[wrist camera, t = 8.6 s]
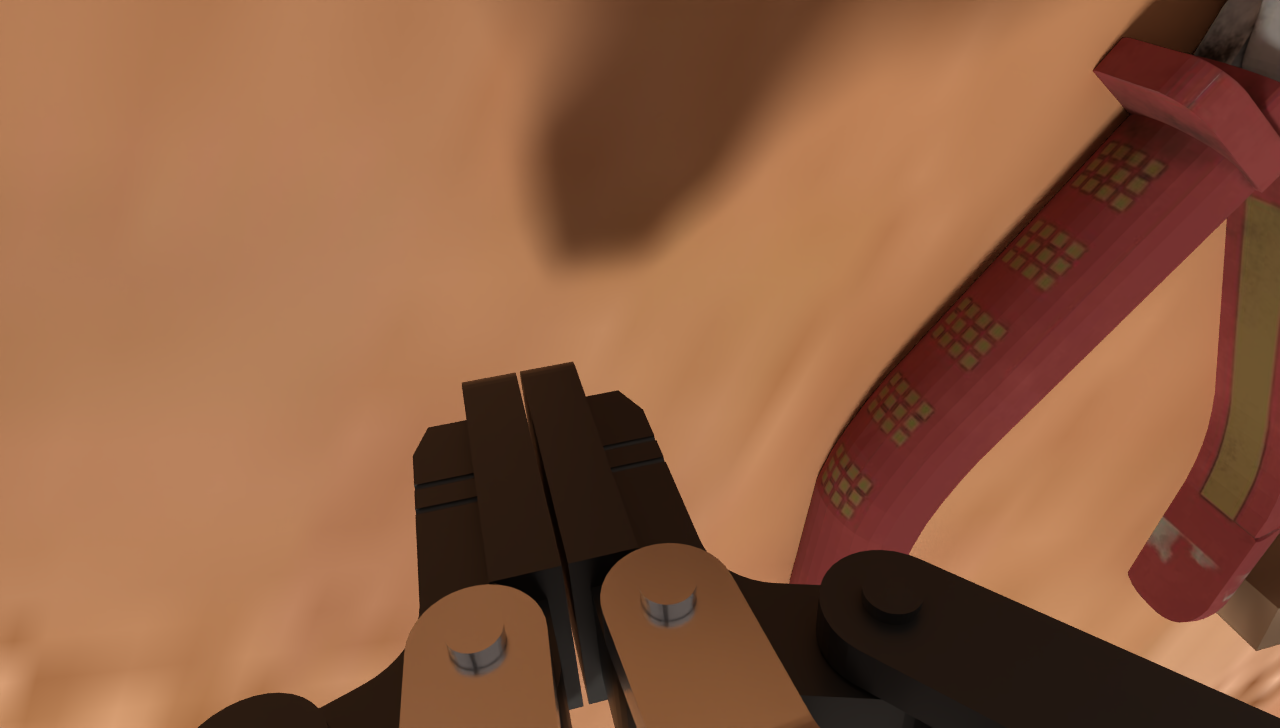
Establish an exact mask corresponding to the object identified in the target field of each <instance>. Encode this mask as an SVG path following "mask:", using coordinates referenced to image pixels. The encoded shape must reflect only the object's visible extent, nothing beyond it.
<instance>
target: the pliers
mask: <svg viewBox="0 0 1280 728" xmlns="http://www.w3.org/2000/svg"><path fill="white" fill-rule="evenodd" d="M1093 72H1094V73H1095V74H1096V75H1097V77H1098V78H1099V79H1100V80H1101V81H1102V82H1103V84H1104V85H1105V86H1106V87H1107V88H1108V90H1109V91H1110V92H1111V93H1112V94H1113V95H1114V97H1115V98H1116V99H1117V100H1118V101H1119V102H1120V104H1121V105H1122V106H1123V107H1124V108H1125V109H1126V111H1127V112H1128V113H1129V114H1130V115H1129V116H1128V117H1127V118H1126V120H1125V121H1124V122H1123V123H1122V124H1121V125H1120V126H1119V127H1118V128H1117V129H1116V130H1115V131H1114V132H1113V133H1112V135H1111V136H1110V137H1109V138H1108V139H1107V140H1106V141H1105V142H1104V143H1103V144H1102V145H1101V146H1100V147H1099V149H1098V150H1097V151H1096V152H1095V153H1094V154H1093V155H1092V156H1091V157H1090V158H1089V159H1088V160H1087V161H1086V163H1085V164H1084V165H1083V166H1082V167H1081V168H1080V169H1079V170H1078V171H1077V172H1076V173H1075V174H1074V175H1073V177H1072V178H1071V179H1070V180H1069V181H1068V182H1067V183H1066V184H1065V185H1064V186H1063V187H1062V188H1061V189H1060V191H1059V192H1058V193H1057V194H1056V195H1055V196H1054V197H1053V198H1052V199H1051V200H1050V201H1049V202H1048V203H1047V205H1046V206H1045V207H1044V208H1043V209H1042V210H1041V211H1040V212H1039V213H1038V214H1037V215H1036V216H1035V217H1034V219H1033V220H1032V221H1031V222H1030V223H1029V224H1028V225H1027V226H1026V227H1025V228H1024V229H1023V230H1022V231H1021V232H1020V234H1019V235H1018V236H1017V237H1016V238H1015V239H1014V240H1013V241H1012V242H1011V243H1010V244H1009V245H1008V246H1007V248H1006V249H1005V250H1004V251H1003V252H1002V253H1001V254H1000V255H999V256H998V257H997V258H996V259H995V260H994V262H993V263H992V264H991V265H990V266H989V267H988V268H987V269H986V270H985V271H984V272H983V273H982V274H981V276H980V277H979V278H978V279H977V280H976V281H975V282H974V283H973V284H972V285H971V286H970V287H969V288H968V290H967V291H966V292H965V293H964V294H963V295H962V296H961V297H960V298H959V299H958V300H957V301H956V302H955V304H954V305H953V306H952V307H951V308H950V309H949V310H948V311H947V312H946V313H945V314H944V315H943V316H942V318H941V319H940V320H939V321H938V322H937V323H936V324H935V325H934V326H933V327H932V328H931V329H930V330H929V331H928V333H927V334H926V335H925V336H924V337H923V338H922V339H921V340H920V341H919V342H918V343H917V344H916V345H915V347H914V348H913V349H912V350H911V351H910V352H909V353H908V354H907V355H906V356H905V357H904V358H903V359H902V361H901V362H900V363H899V364H898V365H897V366H896V367H895V368H894V369H893V370H892V371H891V372H890V373H889V375H888V376H887V377H886V378H885V379H884V380H883V382H882V383H881V384H880V385H879V387H878V388H877V389H876V390H875V391H874V393H873V394H872V395H871V396H870V397H869V399H868V400H867V401H866V402H865V404H864V405H863V406H862V408H861V409H860V410H859V412H858V413H857V414H856V416H855V417H854V418H853V420H852V421H851V422H850V424H849V425H848V427H847V428H846V430H845V431H844V433H843V434H842V435H841V437H840V438H839V440H838V441H837V443H836V444H835V446H834V447H833V449H832V450H831V452H830V454H829V456H828V458H827V460H826V462H825V464H824V466H823V468H822V470H821V472H820V474H819V476H818V477H817V481H816V484H815V488H814V492H813V496H812V499H811V503H810V507H809V511H808V514H807V518H806V522H805V526H804V529H803V533H802V537H801V541H800V544H799V548H798V552H797V556H796V559H795V563H794V567H793V571H792V574H791V578H790V583H789V584H809V585H821V582H822V579H823V577H824V576H825V574H826V572H827V571H828V570H829V569H830V568H831V566H832V565H833V564H835V563H836V562H838V561H839V560H840V559H842V558H844V557H846V556H848V555H851V554H854V553H857V552H861V551H868V550H888V551H896V552H900V553H904V554H908V555H909V553H910V551H911V549H912V547H913V545H914V544H915V542H916V540H917V539H918V537H919V535H920V534H921V532H922V530H923V529H924V527H925V526H926V524H927V523H928V521H929V520H930V519H931V517H932V516H933V515H934V513H935V512H936V510H937V509H938V508H939V506H940V505H941V504H942V503H943V501H944V500H945V499H946V498H947V497H948V495H949V494H950V493H951V492H952V491H953V489H954V488H955V487H956V486H957V485H958V483H959V482H960V481H961V480H962V479H963V478H964V477H965V476H966V475H967V474H968V472H969V471H970V470H971V469H972V468H973V467H974V466H975V465H976V464H977V463H978V462H979V460H980V459H981V458H982V457H983V456H985V455H986V454H987V453H988V452H989V451H990V450H991V449H992V448H993V447H994V446H995V445H996V444H997V443H998V442H999V441H1000V440H1001V439H1002V438H1003V437H1004V436H1005V435H1006V434H1007V433H1008V432H1009V431H1010V430H1011V429H1012V428H1013V427H1014V426H1015V425H1016V424H1017V423H1018V422H1019V421H1020V420H1021V419H1022V418H1023V417H1024V416H1025V415H1026V414H1027V413H1028V412H1029V411H1030V410H1031V409H1032V408H1033V407H1035V406H1036V405H1037V404H1038V403H1039V402H1040V401H1041V400H1042V399H1043V398H1044V397H1045V396H1046V395H1047V394H1048V393H1049V392H1050V391H1051V390H1052V389H1053V388H1054V387H1055V386H1056V385H1057V384H1058V383H1059V382H1060V381H1061V380H1062V379H1063V378H1064V377H1065V376H1066V375H1067V374H1068V373H1069V372H1070V371H1071V370H1072V369H1073V368H1074V367H1075V366H1076V365H1077V364H1078V363H1079V362H1080V361H1081V360H1082V359H1084V358H1085V357H1086V356H1087V355H1088V354H1089V353H1090V352H1091V351H1092V350H1093V349H1094V348H1095V347H1096V346H1097V345H1098V344H1099V343H1100V342H1101V341H1102V340H1103V339H1104V338H1105V337H1106V336H1107V335H1108V334H1109V333H1110V332H1111V331H1112V330H1113V329H1114V328H1115V327H1116V326H1117V325H1118V324H1119V323H1120V322H1121V321H1122V320H1123V319H1124V318H1125V317H1126V316H1127V315H1128V314H1129V313H1130V312H1131V311H1132V310H1134V309H1135V308H1136V307H1137V306H1138V305H1139V304H1140V303H1141V302H1142V301H1143V300H1144V299H1145V298H1146V297H1147V296H1148V295H1149V294H1150V293H1151V292H1152V291H1153V290H1154V289H1155V288H1156V287H1157V286H1158V285H1159V284H1160V283H1161V282H1162V281H1163V280H1164V279H1165V278H1166V277H1167V276H1168V275H1169V274H1170V273H1171V272H1172V271H1173V270H1174V269H1175V268H1176V267H1177V266H1178V265H1179V264H1180V263H1181V262H1182V261H1184V260H1185V259H1186V258H1187V257H1188V256H1189V255H1190V254H1191V253H1192V252H1193V251H1194V250H1195V249H1196V248H1197V247H1198V246H1199V245H1200V244H1201V243H1202V242H1203V241H1204V240H1205V239H1206V238H1207V237H1208V236H1209V235H1210V234H1211V233H1212V232H1213V231H1214V230H1215V229H1216V228H1217V227H1218V226H1219V225H1220V224H1221V223H1222V222H1223V221H1224V220H1225V219H1226V218H1227V227H1226V241H1225V256H1224V270H1223V285H1222V299H1221V314H1220V328H1219V343H1218V357H1217V372H1216V386H1215V396H1214V402H1213V408H1212V413H1211V417H1210V422H1209V426H1208V430H1207V433H1206V436H1205V439H1204V442H1203V445H1202V447H1201V450H1200V452H1199V454H1198V457H1197V459H1196V461H1195V464H1194V465H1193V467H1192V469H1191V471H1190V473H1189V475H1188V477H1187V479H1186V481H1185V482H1184V484H1183V486H1182V487H1181V489H1180V490H1179V492H1178V493H1177V495H1176V497H1175V498H1174V500H1173V501H1172V503H1171V504H1170V506H1169V508H1168V509H1167V511H1166V512H1165V514H1164V516H1163V517H1162V519H1161V520H1160V522H1159V523H1158V525H1157V527H1156V528H1155V530H1154V531H1153V533H1152V534H1151V536H1150V538H1149V539H1148V541H1147V542H1146V544H1145V546H1144V547H1143V549H1142V550H1141V552H1140V554H1139V555H1138V557H1137V559H1136V560H1135V562H1134V563H1133V565H1132V567H1131V568H1130V570H1129V571H1128V575H1129V578H1130V580H1131V582H1132V585H1133V586H1134V588H1135V589H1136V591H1137V592H1138V593H1139V594H1140V596H1141V597H1142V598H1143V599H1144V600H1145V601H1146V602H1147V603H1148V604H1149V605H1150V606H1151V607H1152V608H1153V609H1154V610H1155V611H1156V612H1157V613H1158V614H1160V615H1161V616H1163V617H1164V618H1166V619H1168V620H1171V621H1175V622H1190V621H1197V620H1201V619H1204V618H1206V617H1209V616H1210V615H1212V614H1214V613H1216V612H1217V611H1219V610H1220V609H1221V608H1222V607H1223V606H1224V605H1225V604H1226V603H1227V602H1228V601H1229V599H1230V598H1231V597H1232V595H1233V594H1234V593H1235V592H1236V590H1237V589H1238V588H1239V586H1240V585H1241V584H1242V582H1243V581H1244V580H1245V578H1246V577H1247V576H1248V574H1249V573H1250V572H1251V570H1252V569H1253V568H1254V566H1255V565H1256V564H1257V562H1258V561H1259V560H1260V558H1261V557H1262V556H1263V554H1264V553H1265V552H1266V550H1267V549H1268V548H1269V546H1270V545H1271V544H1272V542H1273V541H1274V540H1275V538H1276V537H1277V536H1278V534H1279V533H1280V0H1228V1H1227V2H1226V3H1225V5H1224V6H1223V7H1222V9H1221V11H1220V12H1219V14H1218V16H1217V17H1216V19H1215V20H1214V22H1213V24H1212V25H1211V27H1210V29H1209V30H1208V32H1207V33H1206V35H1205V37H1204V38H1203V40H1202V42H1201V43H1200V45H1199V46H1198V48H1197V50H1196V51H1195V53H1194V55H1191V54H1186V53H1182V52H1178V51H1175V50H1171V49H1168V48H1164V47H1161V46H1157V45H1153V44H1150V43H1146V42H1143V41H1139V40H1136V39H1132V38H1127V37H1123V38H1122V39H1121V40H1120V41H1119V42H1118V43H1117V44H1116V45H1115V46H1114V48H1113V49H1112V50H1111V51H1110V52H1109V53H1108V54H1107V55H1106V57H1105V58H1104V59H1103V60H1102V61H1101V62H1100V63H1099V64H1098V65H1097V67H1096V68H1095V69H1094V70H1093Z"/></svg>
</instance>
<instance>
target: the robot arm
mask: <svg viewBox="0 0 1280 728" xmlns="http://www.w3.org/2000/svg"><path fill="white" fill-rule="evenodd" d="M520 377H521V384H522V390H523V396H524V402H525V408H526V414H527V418H526V414H525V410H524V405H523V401H522V397H521V393H520V388H519V384H518V380H517V376H516V373H511V374H506V375H500V376H495V377H490V378H484V379H479V380H473V381H468V382H463V383H462V390H463V397H464V404H465V412H466V419H467V420H465V421H460V422H455V423H450V424H444V425H439V426H434V427H429V428H428V429H427V431H426V433H425V434H424V436H423V438H422V440H421V442H420V444H419V446H418V447H417V449H416V451H415V453H414V455H413V469H414V486H415V510H416V536H417V558H418V580H419V602H420V609H419V618H418V620H417V622H416V623H415V625H414V626H413V628H412V630H411V631H410V634H409V636H408V639H407V641H406V646H405V649H404V650H403V651H402V653H401V654H400V655H399V656H398V658H397V659H396V660H395V661H394V662H393V663H392V664H391V665H390V666H389V667H388V668H387V669H385V670H384V671H383V672H381V673H380V674H379V675H377V676H376V677H375V678H373V679H372V680H370V681H368V682H367V683H365V684H363V685H362V686H360V687H358V688H356V689H354V690H353V691H351V692H349V693H347V694H345V695H343V696H341V697H340V698H338V699H336V700H334V701H332V702H330V703H328V704H327V705H325V706H323V707H321V708H317V707H316V706H315V705H314V704H313V703H312V702H310V701H308V700H307V699H305V698H303V697H300V696H297V695H294V694H287V693H267V694H262V695H257V696H253V697H250V698H247V699H244V700H241V701H239V702H237V703H234V704H232V705H230V706H228V707H226V708H224V709H223V710H221V711H219V712H218V713H216V714H215V715H213V716H212V717H210V718H209V719H208V720H206V721H205V722H204V723H203V724H201V725H200V726H199V727H198V728H572V725H571V719H570V713H569V710H571V709H575V708H579V707H582V706H583V700H582V694H581V687H580V681H579V674H578V668H577V662H576V655H575V649H574V642H573V637H574V641H575V645H576V650H577V654H578V658H579V663H580V667H581V671H582V676H583V680H584V684H585V689H586V693H587V697H588V702H589V704H592V703H596V702H600V701H604V700H608V702H609V706H610V710H611V714H612V718H613V721H614V725H615V728H1280V718H1278V717H1276V716H1274V715H1271V714H1269V713H1267V712H1265V711H1262V710H1260V709H1258V708H1255V707H1253V706H1251V705H1249V704H1246V703H1244V702H1242V701H1240V700H1237V699H1235V698H1233V697H1231V696H1228V695H1226V694H1224V693H1222V692H1219V691H1217V690H1215V689H1212V688H1210V687H1208V686H1206V685H1203V684H1201V683H1199V682H1197V681H1194V680H1192V679H1190V678H1188V677H1185V676H1183V675H1181V674H1179V673H1176V672H1174V671H1172V670H1170V669H1167V668H1165V667H1163V666H1160V665H1158V664H1156V663H1154V662H1151V661H1149V660H1147V659H1145V658H1142V657H1140V656H1138V655H1136V654H1133V653H1131V652H1129V651H1127V650H1124V649H1122V648H1120V647H1117V646H1115V645H1113V644H1111V643H1108V642H1106V641H1104V640H1102V639H1099V638H1097V637H1095V636H1093V635H1090V634H1088V633H1086V632H1084V631H1081V630H1079V629H1077V628H1074V627H1072V626H1070V625H1068V624H1065V623H1063V622H1061V621H1059V620H1056V619H1054V618H1052V617H1050V616H1047V615H1045V614H1043V613H1041V612H1038V611H1036V610H1034V609H1032V608H1029V607H1027V606H1025V605H1022V604H1020V603H1018V602H1016V601H1013V600H1011V599H1009V598H1007V597H1004V596H1002V595H1000V594H998V593H995V592H993V591H991V590H989V589H986V588H984V587H982V586H979V585H977V584H975V583H973V582H970V581H968V580H966V579H964V578H961V577H959V576H957V575H955V574H952V573H950V572H948V571H946V570H943V569H941V568H939V567H936V566H934V565H932V564H930V563H927V562H925V561H923V560H921V559H918V558H916V557H913V556H910V555H908V554H904V553H900V552H896V551H888V550H868V551H861V552H857V553H854V554H851V555H848V556H846V557H844V558H842V559H840V560H839V561H838V562H836V563H835V564H833V565H832V566H831V568H830V569H829V570H828V571H827V572H826V574H825V576H824V577H823V579H822V582H821V585H809V584H782V583H768V582H761V581H756V580H752V579H749V578H746V577H743V576H740V575H738V574H736V573H734V572H732V571H729V570H728V569H727V568H726V566H725V565H724V564H723V563H722V562H721V561H720V560H719V559H717V558H716V557H714V556H713V555H711V554H710V553H708V552H707V551H706V550H705V548H704V547H703V545H702V543H701V541H700V539H699V537H698V535H697V532H696V530H695V528H694V525H693V523H692V521H691V519H690V516H689V514H688V512H687V509H686V507H685V505H684V503H683V500H682V498H681V496H680V493H679V491H678V489H677V487H676V484H675V482H674V480H673V477H672V475H671V473H670V470H669V468H668V466H667V464H666V462H664V458H663V454H662V452H661V450H660V448H659V445H658V443H657V441H655V438H654V434H653V432H652V429H651V427H650V425H649V422H648V420H647V418H646V416H645V413H644V411H643V409H641V408H640V407H639V406H638V405H636V404H635V403H634V402H632V401H631V400H630V399H629V398H627V397H626V396H625V395H623V394H622V393H621V392H620V391H612V392H607V393H602V394H597V395H592V396H587V397H586V396H585V393H584V390H583V387H582V385H581V382H580V379H579V376H578V373H577V370H576V367H575V365H574V363H573V362H569V363H563V364H558V365H553V366H547V367H542V368H536V369H531V370H526V371H520ZM527 420H528V422H527ZM571 628H572V630H571ZM572 632H573V636H572Z"/></svg>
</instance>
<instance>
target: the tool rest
mask: <svg viewBox="0 0 1280 728" xmlns="http://www.w3.org/2000/svg"><path fill="white" fill-rule="evenodd" d="M1216 613H1217V614H1218V615H1219V616H1220V617H1221V618H1222V619H1223V620H1224V621H1225V622H1226V623H1227V624H1228V625H1229V626H1231V627H1232V628H1233V629H1234V630H1235V631H1236V632H1237V633H1238V634H1239V635H1240V636H1241V637H1242V638H1243V639H1244V640H1245V641H1246V642H1247V643H1248V644H1249V645H1250V646H1252V647H1253V648H1254V649H1255V650H1256V651H1258V650H1261V649H1265V648H1268V647H1272V646H1275V645H1279V644H1280V533H1279V534H1278V536H1277V537H1276V538H1275V540H1274V541H1273V542H1272V544H1271V545H1270V546H1269V548H1268V549H1267V550H1266V552H1265V553H1264V554H1263V556H1262V557H1261V558H1260V560H1259V561H1258V562H1257V564H1256V565H1255V566H1254V568H1253V569H1252V570H1251V572H1250V573H1249V574H1248V576H1247V577H1246V578H1245V580H1244V581H1243V582H1242V584H1241V585H1240V586H1239V588H1238V589H1237V590H1236V592H1235V593H1234V594H1233V595H1232V597H1231V598H1230V599H1229V601H1228V602H1227V603H1226V604H1225V605H1224V606H1223V607H1222V608H1221V609H1220V610H1219V611H1217V612H1216Z"/></svg>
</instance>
